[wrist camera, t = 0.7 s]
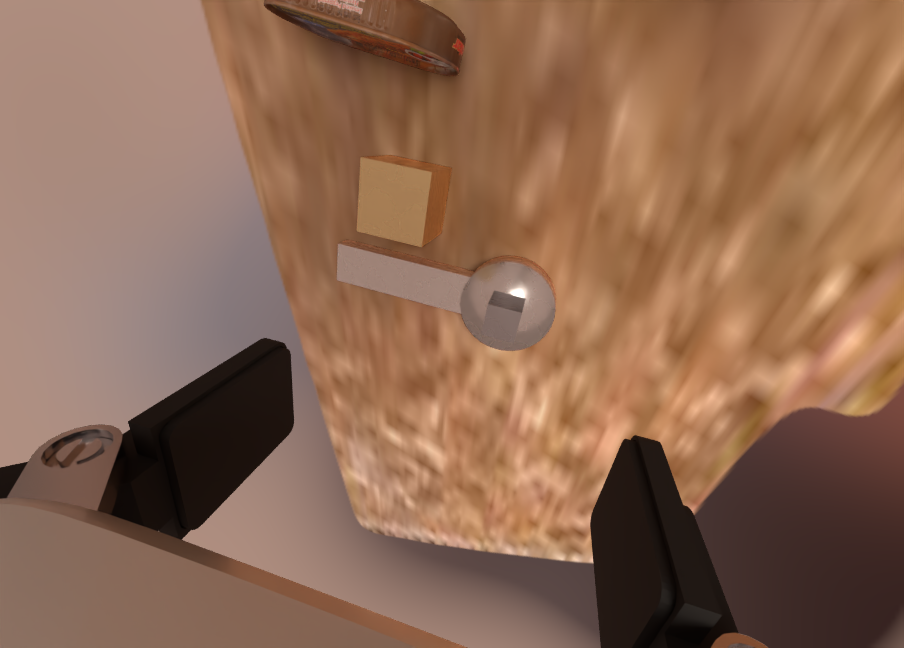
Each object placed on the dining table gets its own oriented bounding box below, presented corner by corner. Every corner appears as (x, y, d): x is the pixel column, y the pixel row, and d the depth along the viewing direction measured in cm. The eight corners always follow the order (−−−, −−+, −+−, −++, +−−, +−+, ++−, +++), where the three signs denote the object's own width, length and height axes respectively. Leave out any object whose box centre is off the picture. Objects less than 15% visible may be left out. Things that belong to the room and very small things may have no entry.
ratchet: (348, 215, 40) (315, 226, 34) (567, 268, 36) (568, 289, 31) (345, 295, 44) (315, 315, 38) (541, 349, 40) (538, 380, 35)
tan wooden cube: (390, 155, 36) (360, 156, 31) (451, 168, 35) (431, 172, 30) (385, 219, 39) (356, 231, 33) (441, 232, 38) (421, 247, 32)
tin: (307, 33, 33) (234, 2, 26) (311, -13, 32) (235, -59, 25) (468, 84, 32) (439, 67, 25) (480, 39, 30) (453, 6, 23)
